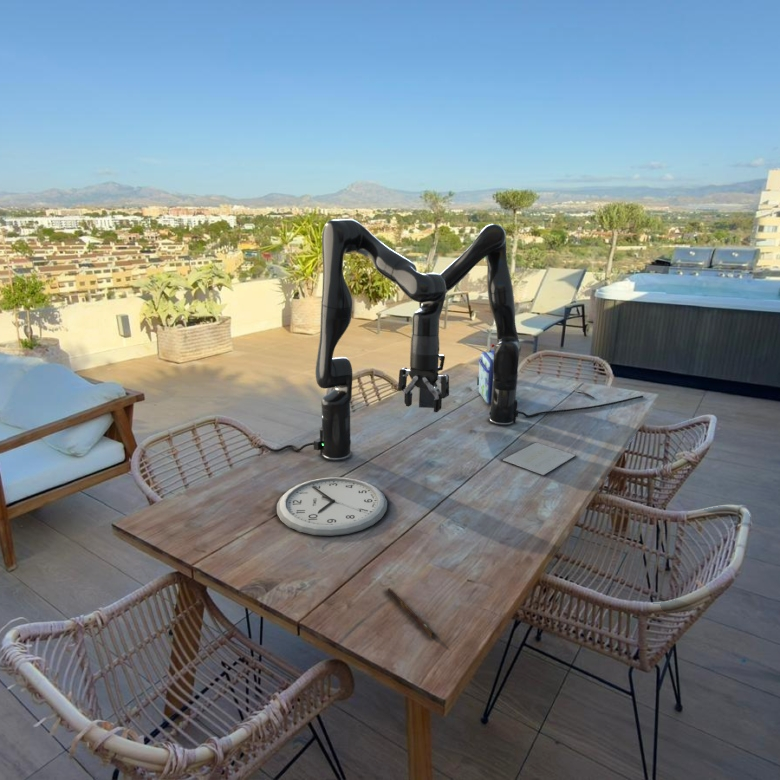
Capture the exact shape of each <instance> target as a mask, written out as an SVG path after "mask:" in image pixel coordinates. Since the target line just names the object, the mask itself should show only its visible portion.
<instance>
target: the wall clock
mask: <svg viewBox="0 0 780 780" xmlns="http://www.w3.org/2000/svg"><path fill="white" fill-rule="evenodd" d="M387 509H388V500H387V498H386V496H385V494H384V493H383V492H382V491H381V490H380V489H379V488H377V487H376V486H374V485H372V484H371V483H369V482H365V481H362V480H359V479H355V478H349V477H338V476H337V477H335V476H333V477H332V476H331V477H322V478H317V479H312V480H307V481H305V482H302V483H299V484H297V485H295V486H293V487H292V488H290V489H288V490H287V491H286V492H285V493H284V494H283V495H281V496H280V498H279V499H278V502H277V503H276V515H277V517H278V518H279V520H280V521H281V522H282V523H283V524H285V525H286V526H287V527H288V528H290V529H293V530H295V531H297V532H299V533H303V534H308V535H312V536H327V537H328V536H329V537H331V536H332V537H333V536H342V535H350V534H352V533H356V532H361V531H363V530H366V529H368V528H369V527H372V526H373V525H375V524H376V523H378V522H379V521H380V520H381V519H382V518H383V517H384V516H385V514H386V512H387Z"/></svg>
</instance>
